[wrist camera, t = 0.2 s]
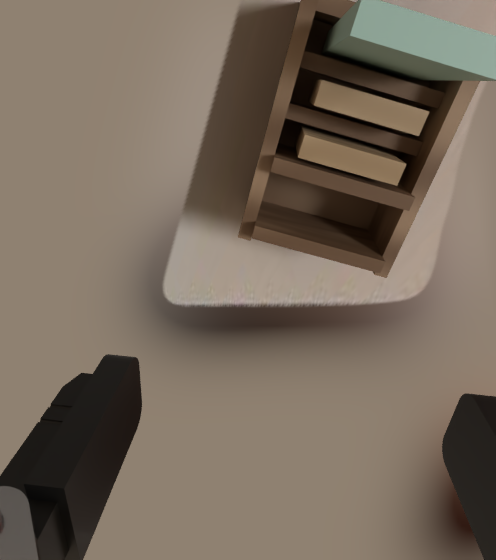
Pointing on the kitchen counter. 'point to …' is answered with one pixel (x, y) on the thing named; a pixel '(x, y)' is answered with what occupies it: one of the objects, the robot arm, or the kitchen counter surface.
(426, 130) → the rack
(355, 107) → the pine offcut
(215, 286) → the kitchen counter surface
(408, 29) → the sage board
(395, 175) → the pine offcut
